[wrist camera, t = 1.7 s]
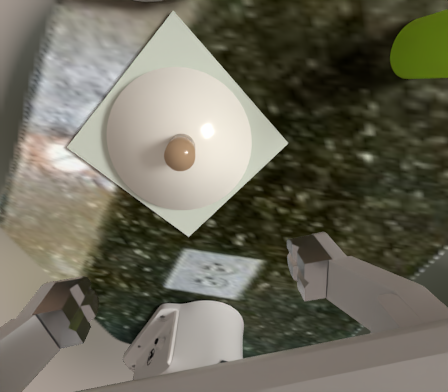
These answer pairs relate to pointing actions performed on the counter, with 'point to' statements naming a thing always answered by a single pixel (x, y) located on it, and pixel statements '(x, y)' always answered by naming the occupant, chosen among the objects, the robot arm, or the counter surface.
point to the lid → (179, 138)
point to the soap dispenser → (422, 48)
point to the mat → (176, 57)
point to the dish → (149, 0)
